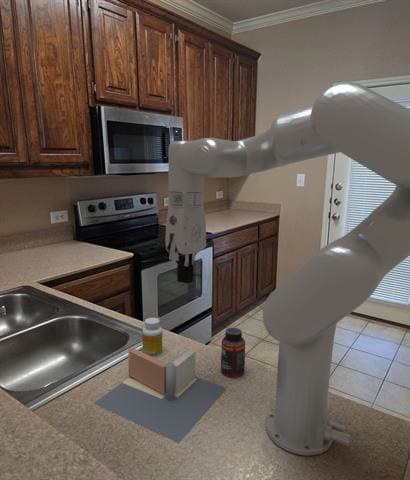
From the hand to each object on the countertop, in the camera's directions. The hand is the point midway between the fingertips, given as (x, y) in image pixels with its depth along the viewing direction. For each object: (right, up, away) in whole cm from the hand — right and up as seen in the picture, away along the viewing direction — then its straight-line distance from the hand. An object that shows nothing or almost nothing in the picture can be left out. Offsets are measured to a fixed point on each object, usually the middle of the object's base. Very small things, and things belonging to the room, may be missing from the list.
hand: (185, 281), depth 80 cm
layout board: (-5, -26, -1) cm, 26 cm away
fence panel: (-9, -24, +2) cm, 26 cm away
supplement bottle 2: (+11, -24, +9) cm, 28 cm away
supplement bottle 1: (-10, -22, +18) cm, 30 cm away
